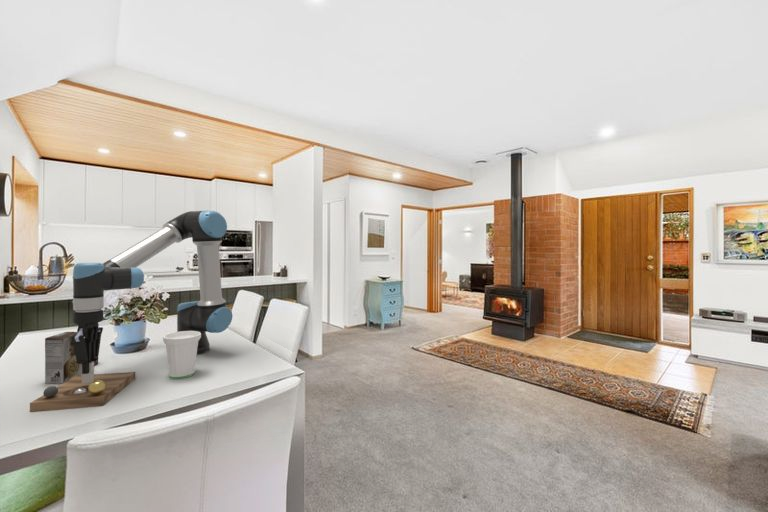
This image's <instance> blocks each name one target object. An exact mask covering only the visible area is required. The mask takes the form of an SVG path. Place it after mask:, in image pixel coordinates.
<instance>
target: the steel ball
mask: <svg viewBox="0 0 768 512" xmlns="http://www.w3.org/2000/svg"><path fill="white" fill-rule="evenodd" d="M83 392H87V390H86V389H85V388H79V389H77V390H76V391H75V392H74V394H77V393H83Z"/></svg>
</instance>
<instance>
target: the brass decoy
mask: <svg viewBox="0 0 768 512" xmlns="http://www.w3.org/2000/svg"><path fill="white" fill-rule="evenodd" d="M105 388H106V384H105V382H104V381H102V380H96V381H94V382H92V383H91V384H90V385H89V387H88V391H89V393H91V394H93V395H97V394H100V393H102V392H103V391H104V390H105Z"/></svg>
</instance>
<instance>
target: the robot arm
mask: <svg viewBox="0 0 768 512" xmlns="http://www.w3.org/2000/svg"><path fill="white" fill-rule="evenodd" d="M227 230H228V223H227V220H226V219H225V217H224V216H223V215H222V214H221V213H220V212H218V211H215V210H208V209H207V210H197V211H196V210H195V211H193V210H192V211H190V210H189V211H186V212H183V213H182V214H180V215H177V216H176V217H174V218H172V219H170V220H169V221H166V222H165V223H164V224H162V228H160V229H159V230H157V231H156V232H153V233H152V234H150V235H149V236H147V237H145V238H143V239H142V240H140V241H138V242H137V243H135V244H134V245H131V247H128V248H127V249H125V250H123V251H122V252H120V253H119V254H117V255H115V256H113V257H112V258H110V259H109V260H106V261H105V262H103V263H102V262H78V263H76V264H74V266H73V270H72V271H73V273H72V284H73V285H72V286H73V287H72V292H73V295H72V297H73V300H71V303H72V310H73V311H74V312H72V323H73V324H75V325H78V327H77V331H76V332H78V334H77V335H76V336H72V340H73V342H74V348H75V354H76V361H77V364H82V383H92V382H93V381H94V375H95V365H94V361H97V360H98V361H99V355H100V354H99V353H100V347H101V339H102V333H103V331H104V328H103V327H99V326H100V325H99V323H101V322H102V321H104V310H103V309H104V299H105V298H104V293H105V291H116V290H132V289H138V288H140V287H142V286H143V283H144V281H145V275H144V272H143V270H142V269H141V268H139V267H140V266H141V265H143V264H144V263H146V261H148V260H150V259H151V258H153V257H154V256H157V255H158V254H160V253H161V252H162V251H164V250H166V249H167V248H169V247H170V246H172V245H173V244H175V243H178V244H179V243H181V242H182V241H184V240H187V239H190V238H192V239H191V240H192V243H193V244H194V245H195V246H196V252H197V267H198V280H199V281H198V282H199V283H198V284H199V295H200V297H199V299H200V300H196V301H188V302H181V303H179V304H178V305H177V310H176V314H177V315H176V318H177V319H176V320H177V321H176V322H177V323H176V326H177V327H176V332H181V331H198V332H200V333H201V338H200V339H199V341H198V347H197V355H199V354H203V353H206V352H209V350H210V349H211V348H210V347H211V346H210V341H209V338H208V335H207V333H209V334H210V333H211V334H218V333H223V332H224V331H226V330H227V329H228V328H229V326H230V325H231V323H232V321H233V312H232V310H231V309H230V307H227V301H226V299H225V298H223V293H222V277H221V264H220V263H221V261H220V244H221V243H222V242H223V236H224V235H225V234H226V233H227ZM96 357H98V358H96Z"/></svg>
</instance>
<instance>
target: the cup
mask: <svg viewBox="0 0 768 512" xmlns="http://www.w3.org/2000/svg"><path fill="white" fill-rule="evenodd" d="M200 338H201V333H200V332H198V331H181V332H177V331H175V332H174V331H173V332H169V333H167V334H164V335H163V337H162V340H163V343H164V344H165V349H166V357H167V365H168V373H169V374H168V376H169V379H172V380H174V379H175V380H178V379H180V380H181V379H184V378H185V379H186V378H189V377H192V376H193V375H195V373H196V369H195V368H196V361H197V355H198V354H197V347H198V341H199V339H200Z"/></svg>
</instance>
